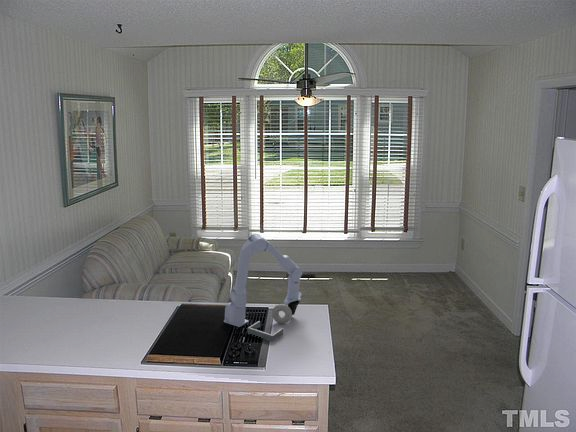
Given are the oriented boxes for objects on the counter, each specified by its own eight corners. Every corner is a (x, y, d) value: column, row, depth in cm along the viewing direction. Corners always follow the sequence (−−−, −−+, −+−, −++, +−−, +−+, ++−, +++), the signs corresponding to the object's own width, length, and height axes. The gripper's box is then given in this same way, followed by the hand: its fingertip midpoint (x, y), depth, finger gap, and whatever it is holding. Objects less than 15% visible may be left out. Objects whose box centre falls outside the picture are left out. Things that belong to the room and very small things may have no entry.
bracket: (247, 333, 235) (247, 327, 234) (258, 326, 242) (258, 320, 242) (272, 342, 228) (272, 336, 227) (283, 334, 236) (283, 328, 235)
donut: (292, 323, 248) (293, 304, 245) (290, 326, 244) (291, 307, 242) (272, 320, 250) (273, 301, 247) (270, 323, 246) (271, 304, 244)
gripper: (293, 295, 244) (291, 321, 247) (307, 286, 256) (306, 311, 259) (280, 291, 248) (279, 317, 251) (295, 283, 260) (294, 307, 263)
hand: (292, 314), depth 255 cm, fingers closed
